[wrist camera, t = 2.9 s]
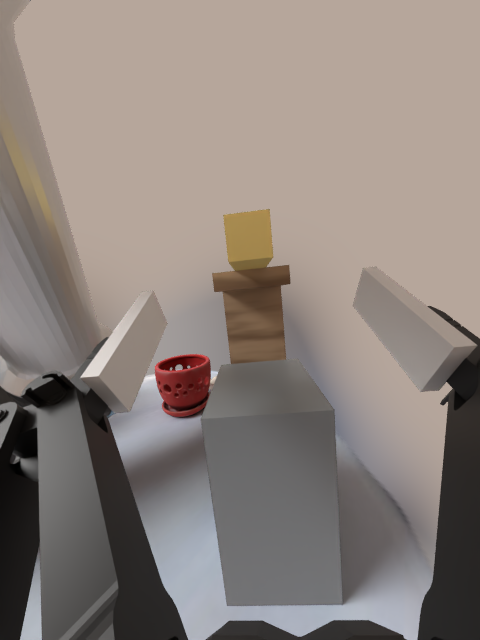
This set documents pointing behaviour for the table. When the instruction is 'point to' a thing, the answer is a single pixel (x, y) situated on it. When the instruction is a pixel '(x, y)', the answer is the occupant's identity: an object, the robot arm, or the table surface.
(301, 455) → the gray rectangular block
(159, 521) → the table surface
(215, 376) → the digit tile cream
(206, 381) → the plant pot
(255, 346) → the shelf stand
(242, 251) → the number bar
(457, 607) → the robot arm
